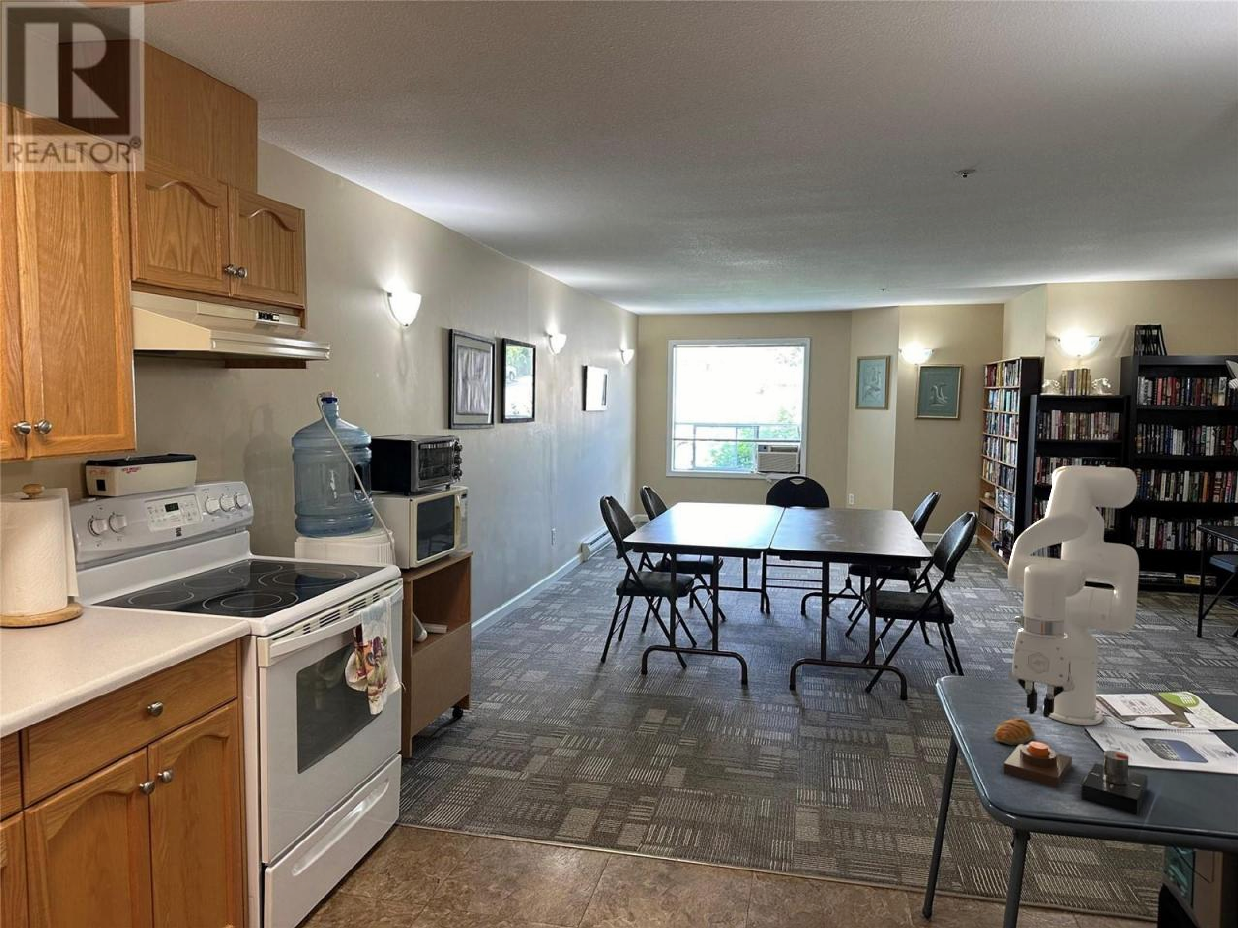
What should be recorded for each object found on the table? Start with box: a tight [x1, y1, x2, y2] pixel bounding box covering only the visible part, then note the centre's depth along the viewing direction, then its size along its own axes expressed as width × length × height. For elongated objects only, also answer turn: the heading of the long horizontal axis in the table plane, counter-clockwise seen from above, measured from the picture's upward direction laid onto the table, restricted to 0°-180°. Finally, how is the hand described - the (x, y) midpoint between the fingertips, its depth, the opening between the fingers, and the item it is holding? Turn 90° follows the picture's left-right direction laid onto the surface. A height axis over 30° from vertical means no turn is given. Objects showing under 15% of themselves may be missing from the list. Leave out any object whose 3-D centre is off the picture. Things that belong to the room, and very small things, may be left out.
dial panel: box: [1081, 762, 1149, 816], centre depth 157 cm, size 12×9×3 cm
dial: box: [1103, 750, 1130, 785], centre depth 157 cm, size 4×4×5 cm
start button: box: [1028, 741, 1050, 756], centre depth 167 cm, size 4×4×2 cm
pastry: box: [994, 718, 1036, 746], centre depth 182 cm, size 9×7×4 cm
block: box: [1003, 743, 1073, 789], centre depth 168 cm, size 12×10×4 cm
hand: (1040, 712), depth 167 cm, fingers closed
